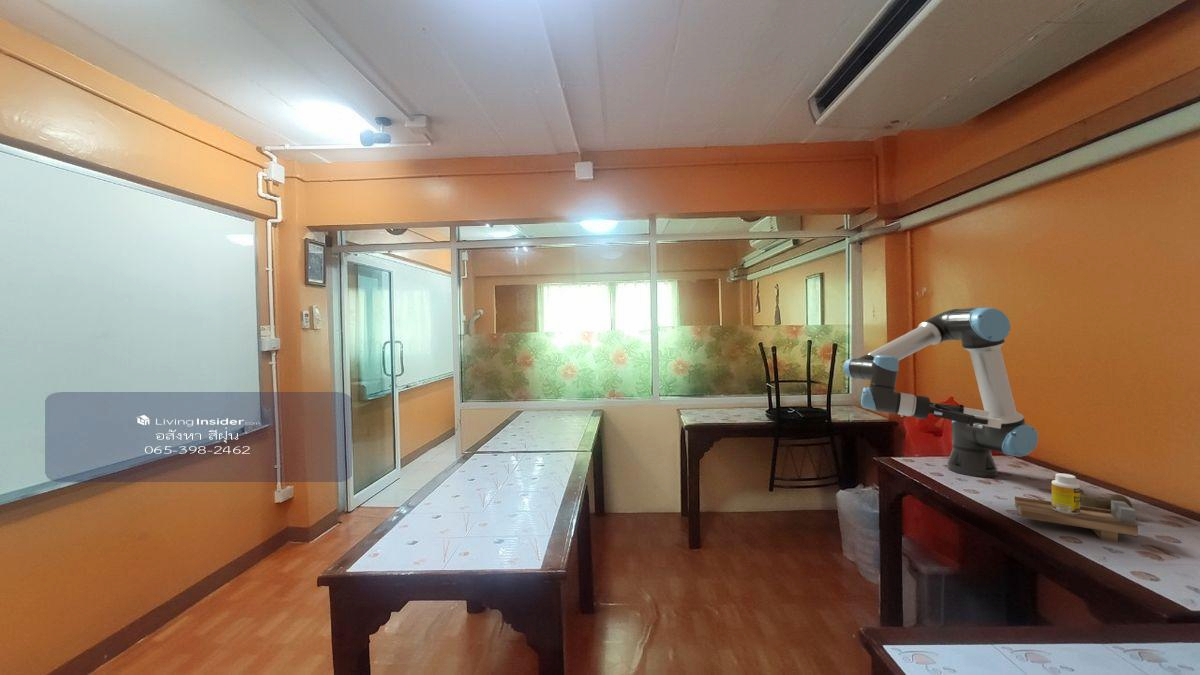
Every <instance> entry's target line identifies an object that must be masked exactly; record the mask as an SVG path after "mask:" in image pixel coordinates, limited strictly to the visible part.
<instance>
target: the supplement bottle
mask: <svg viewBox="0 0 1200 675" xmlns="http://www.w3.org/2000/svg"><path fill="white" fill-rule="evenodd" d="M1054 477H1055V479H1053V480H1051V502H1052V508H1053V509H1054V510H1055V511H1057V512H1060V513H1066V514H1073V515H1077V514H1079V513H1080V506H1081V501H1080V489H1081V486H1080V484H1079V483H1077V477H1076V476H1075V475H1074V474H1069V473H1060V472H1057V473H1055V476H1054Z"/></svg>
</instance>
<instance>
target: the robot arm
mask: <svg viewBox="0 0 1200 675" xmlns="http://www.w3.org/2000/svg"><path fill="white" fill-rule="evenodd" d="M1009 331H1011V321H1010V320H1009V318H1008V315H1007V314H1005V312H1003V311H1002V310H1000V309H998V308H994V307H984V306H980V307H979V306H978V307H970V308H968V307H967V308H954V309H948V310H945V311H943V312H941V313H938V314H936V315H933V316H932V317H930V318H927V319H926V320H924V321H922V322H920V323H919V324H918V326H917V328H914V329H912V330H910V331H909V332H907V333H905V334H903V335H901V336H899V337H896V338H895V339H893V340H891V341H889V342H888V343H885V344H883V345H882V346H880V347H878V348H876V349H874V350H872V351H870V352H868V353H866V354H864V355H862V356H860V357H858V358H849V359H847V360H845V361H844V363H843V365H842V366H843V367H842V370H843V372H844V374H845V376H846V377H848V378H852V379H855V380H863V381H869V386H868V387H865V386H864V387H863V389H862V392H861V398H860V406H861V407H862V408H863V409H867V410H871V411H876V412H880V413H882V412H883V413H887V414H894V415H900V417H901V418H903V417H904V416H905V417H913V418H914V419H915V418H916V419H921V420H926V419H927V418H928V417H929V414H931V415H933V417H934V418H939V419H940V418H941V419H945V420H949V421H951V431H952V432H951V434H952V450H951V452H950V455H949V457H948V460H947V462H946V465H947V469H948V470H949V471H952V472H955V473H958V474H962V475H966V476H973V477H980V478H981V477H983V478H985V477H986V478H988V477H989V478H990V477H991V478H992V477H996V476H998V467H997V464H996V461H995V459H994V457H993V455H992V451H994V452H997V453H1001V454H1004V455H1006V456H1014V457H1018V458H1019V457H1021V458H1022V457H1025V456H1028V455H1029V454H1031V453H1032V452H1033V451H1034V450H1035V448H1036V447H1037V445H1038V442H1039V435H1038V431H1037V430H1036V429H1035V427H1033V426H1031V425H1029V424H1026V421H1025V417H1024V415H1023V414H1022V413H1020V412H1018V411H1017V409H1016V404H1015V400H1014V397H1013V392H1012V389H1011V385H1010V382H1009V376H1008V372H1007V368H1006V365H1005V361H1004V356H1003V352H1002V349H1001V348H1002V346H1003V345H1004V344H1005V343H1006V341H1005V339H1006V338H1007V337H1008V336H1009V334H1010V332H1009ZM946 341H960V343H961V346H962V348H963V349H964V350H966V351H968V353H969V355H970V360H971V364H972V367H973V371H974V374H975V378H976V383H977V387H978V391H979V395H980V399H981V402H982V406H983V410H981V409H976V408H971V407H964V406H965V405H964V404H959V405H956V404H955V405H954V404H944V403H937V402H931V399H930V397H928V396H923V395H914V394H913V393H912V394H911V393H905V392H897V391H896V385H897V379H898V375H899V374H898V373H899V370H900V369H899V362H900V361H901V360H903V359H904V358H906V357H909V356H911V355H913V354H914V353H917V352H918V351H920V350H923V349H924V348H926V347H928V346H930V345H933V346H934V345H935V346H936V345H939V344H940V343H942V342H946Z"/></svg>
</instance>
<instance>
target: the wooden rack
mask: <svg viewBox="0 0 1200 675" xmlns="http://www.w3.org/2000/svg"><path fill="white" fill-rule="evenodd" d="M1014 507H1015V509H1016V510H1017V513H1018V514H1019V515H1020V517H1021V518H1022V519H1029V520H1034V521H1042V522H1048V523H1052V524H1053V523H1054V524H1059V525H1067V526H1072V527H1073V526H1074V527H1078V528H1079V527H1080V528H1084V529H1091V531H1093V532H1094V533H1095V535H1097V536H1098V538H1099V539H1100V540H1102V541H1107V542H1114V543H1118V542H1119V534H1123V535H1128V536H1129V535H1130V536H1135V537H1136V536H1137V537H1138V536H1139V525H1138V524H1137V523H1136V510H1135V509H1134V508H1133V507H1132V508H1131V507H1130V506H1129V505H1128V504H1127V503H1125V502H1122V501H1114V500H1111V510H1107V509H1100V508H1093V507H1086V506H1082V505H1080V513H1079V514H1077V515H1073V514H1066V513H1060V512H1057V511H1055V510H1054V509H1053V508H1052V501H1051V500H1041V499H1035V498H1029V497H1028V498H1027V497H1020V496H1014Z"/></svg>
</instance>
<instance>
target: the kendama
mask: <svg viewBox="0 0 1200 675" xmlns="http://www.w3.org/2000/svg"><path fill="white" fill-rule="evenodd" d="M1111 500H1114V501H1122V502H1125V503H1127V504H1128V505H1129V506H1130V507H1131V508H1133V504H1132V502H1131V501H1130V500H1129V499H1128V497H1126V496H1124V495H1121V494H1118V493H1117V494H1113V495H1111V496H1110V497H1109V498H1107V499H1101V498H1096V497H1093V496H1091V495H1088V494H1086V493H1085V492H1084V490H1083V489H1081V488H1080V506H1086V507H1093V508H1100V509H1107V510H1111Z"/></svg>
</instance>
